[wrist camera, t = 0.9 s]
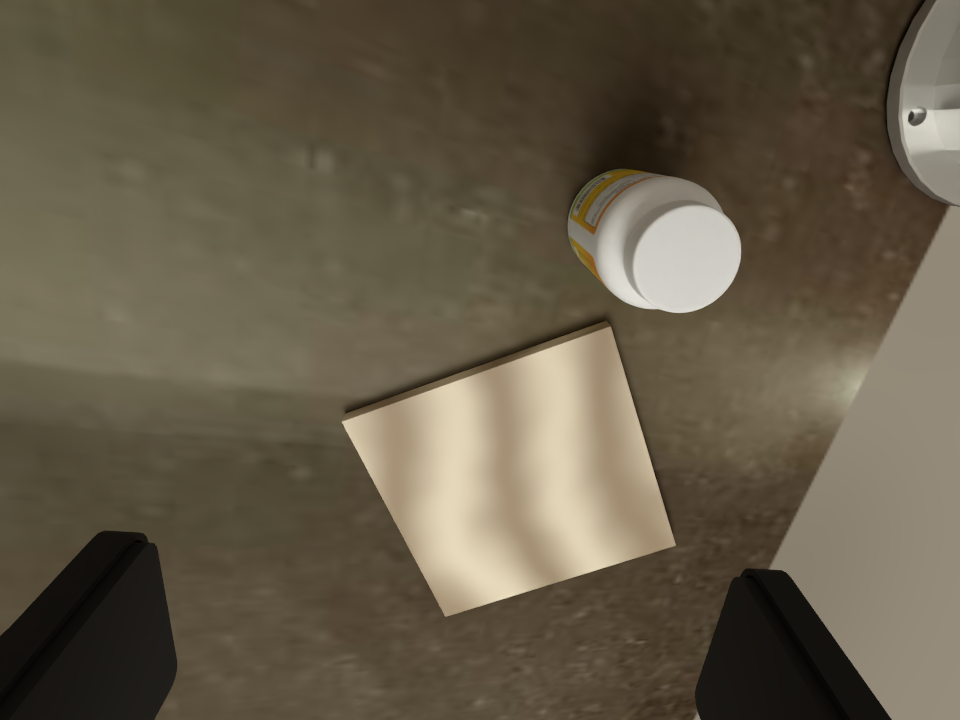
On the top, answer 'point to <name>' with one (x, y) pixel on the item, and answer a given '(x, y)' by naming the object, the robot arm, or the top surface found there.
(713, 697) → the robot arm
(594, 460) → the birch board
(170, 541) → the top surface
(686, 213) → the supplement bottle
